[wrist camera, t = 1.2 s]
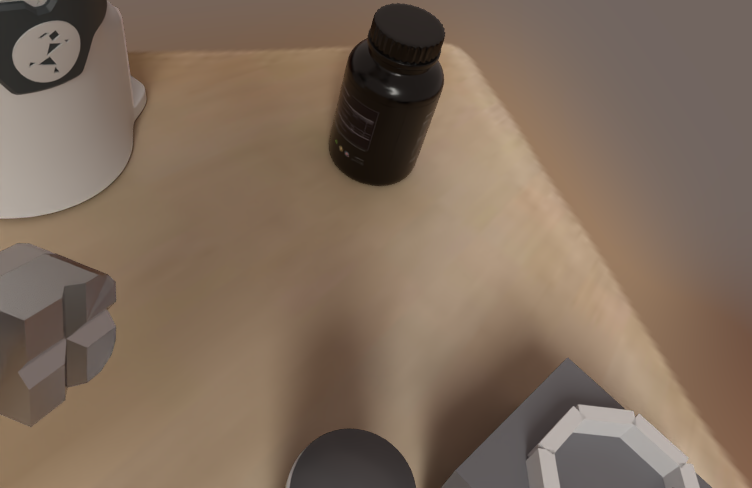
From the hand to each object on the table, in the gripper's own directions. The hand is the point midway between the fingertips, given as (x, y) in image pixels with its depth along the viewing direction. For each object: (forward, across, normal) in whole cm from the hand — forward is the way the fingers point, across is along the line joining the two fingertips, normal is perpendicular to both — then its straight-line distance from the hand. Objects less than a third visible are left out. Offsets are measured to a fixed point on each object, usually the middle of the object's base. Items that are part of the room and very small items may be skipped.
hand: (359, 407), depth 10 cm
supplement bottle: (+42, +13, +13) cm, 46 cm away
